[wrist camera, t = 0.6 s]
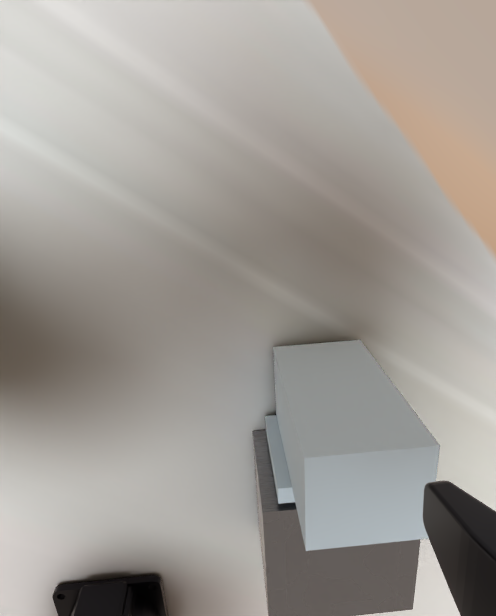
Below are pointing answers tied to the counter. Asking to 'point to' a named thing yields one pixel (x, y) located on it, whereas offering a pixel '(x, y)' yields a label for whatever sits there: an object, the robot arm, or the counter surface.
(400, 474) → the end cover
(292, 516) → the housing
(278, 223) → the counter surface
